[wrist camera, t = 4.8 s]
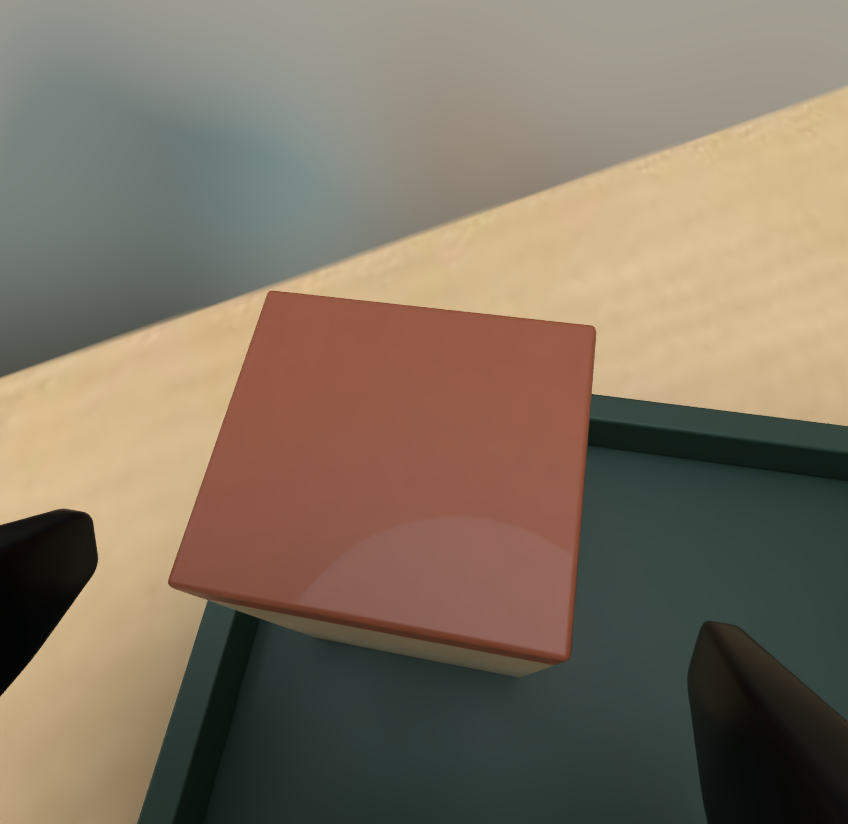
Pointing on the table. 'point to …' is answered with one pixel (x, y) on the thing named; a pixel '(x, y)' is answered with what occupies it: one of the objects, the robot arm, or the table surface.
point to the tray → (552, 687)
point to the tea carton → (401, 482)
